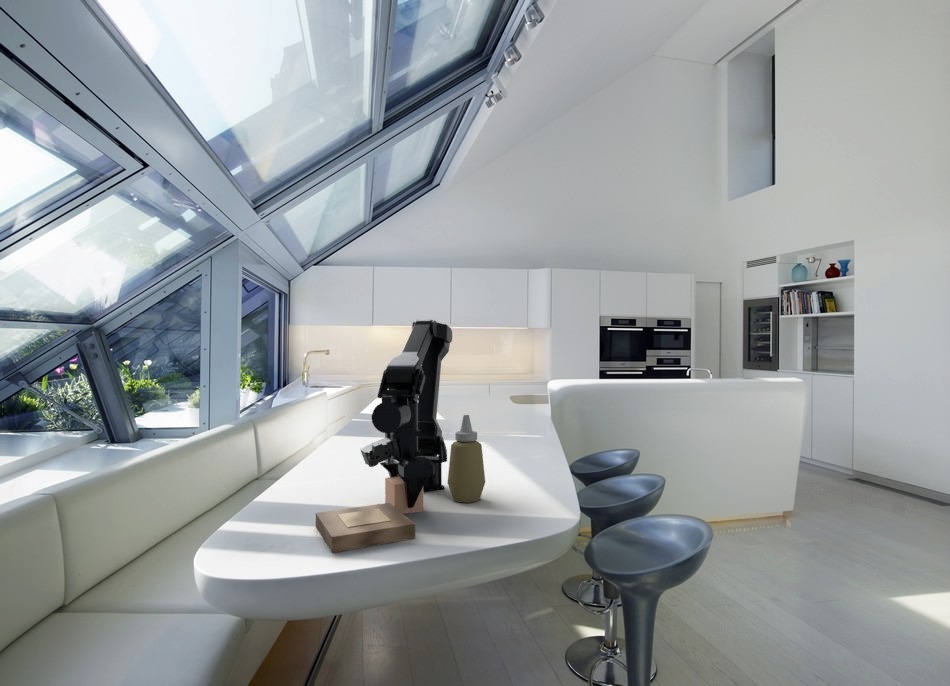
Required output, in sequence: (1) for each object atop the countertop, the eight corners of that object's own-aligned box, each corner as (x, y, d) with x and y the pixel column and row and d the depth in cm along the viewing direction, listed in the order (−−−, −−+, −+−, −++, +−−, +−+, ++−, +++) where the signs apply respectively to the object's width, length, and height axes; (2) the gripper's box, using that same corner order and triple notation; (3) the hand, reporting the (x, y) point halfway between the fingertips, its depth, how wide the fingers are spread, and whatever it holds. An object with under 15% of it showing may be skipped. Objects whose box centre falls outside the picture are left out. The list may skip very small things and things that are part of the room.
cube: (413, 503, 114) (412, 474, 114) (423, 511, 109) (423, 481, 109) (385, 507, 112) (385, 477, 112) (394, 515, 106) (394, 484, 106)
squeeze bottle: (490, 496, 119) (489, 413, 119) (478, 506, 111) (478, 418, 112) (455, 493, 122) (455, 412, 122) (441, 503, 114) (441, 416, 114)
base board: (389, 515, 106) (389, 501, 106) (414, 538, 93) (414, 522, 93) (315, 526, 100) (315, 512, 100) (332, 552, 87) (332, 536, 87)
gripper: (352, 422, 115) (353, 496, 115) (378, 435, 98) (378, 521, 98) (403, 418, 120) (403, 489, 120) (435, 430, 103) (436, 513, 103)
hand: (404, 502), depth 110 cm, fingers open, 7 cm apart
